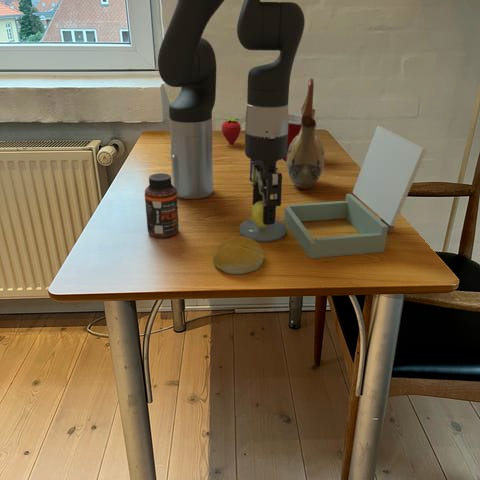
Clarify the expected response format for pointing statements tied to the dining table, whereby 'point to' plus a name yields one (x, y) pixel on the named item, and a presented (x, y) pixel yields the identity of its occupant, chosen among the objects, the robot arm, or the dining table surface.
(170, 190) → the supplement bottle
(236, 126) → the strawberry
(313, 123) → the ceramic vessel
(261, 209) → the yellow oblong lump
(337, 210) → the frame
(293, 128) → the plastic cup
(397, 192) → the lid
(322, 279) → the dining table surface
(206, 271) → the dining table surface
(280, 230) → the saucer
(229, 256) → the bread roll
